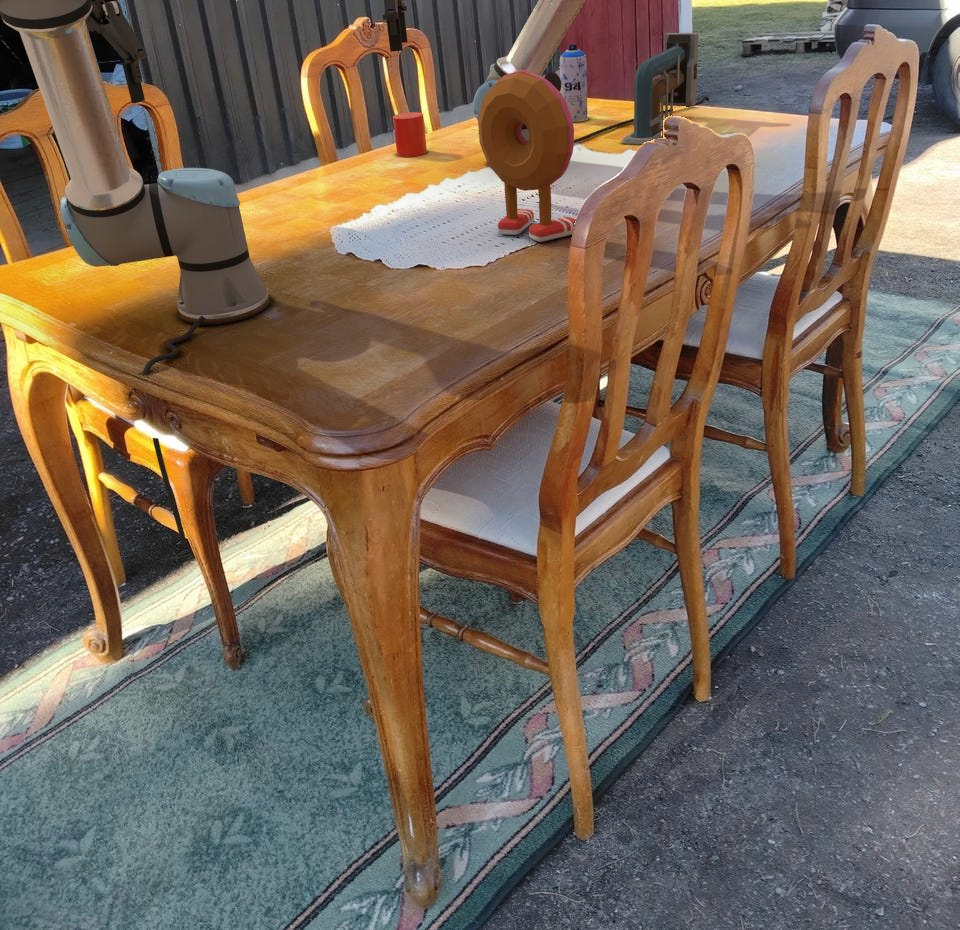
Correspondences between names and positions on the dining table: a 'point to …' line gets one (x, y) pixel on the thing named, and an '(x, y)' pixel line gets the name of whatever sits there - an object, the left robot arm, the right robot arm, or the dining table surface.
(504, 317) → the dining table surface
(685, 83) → the clamp
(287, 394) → the dining table surface
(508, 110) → the toy
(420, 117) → the can
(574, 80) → the aerosol can
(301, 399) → the dining table surface
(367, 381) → the dining table surface
